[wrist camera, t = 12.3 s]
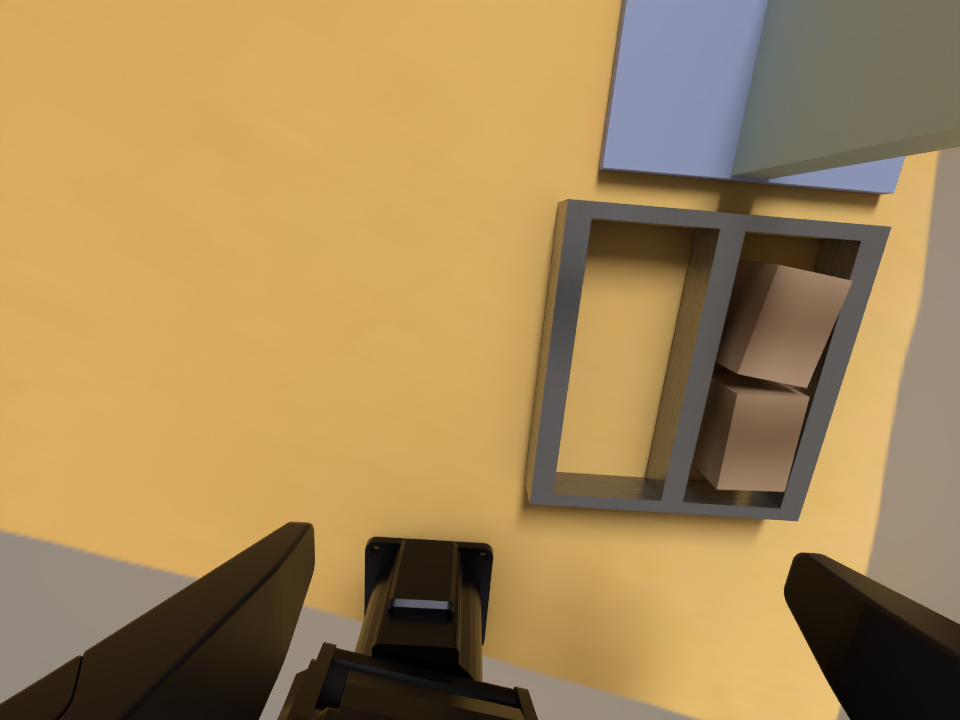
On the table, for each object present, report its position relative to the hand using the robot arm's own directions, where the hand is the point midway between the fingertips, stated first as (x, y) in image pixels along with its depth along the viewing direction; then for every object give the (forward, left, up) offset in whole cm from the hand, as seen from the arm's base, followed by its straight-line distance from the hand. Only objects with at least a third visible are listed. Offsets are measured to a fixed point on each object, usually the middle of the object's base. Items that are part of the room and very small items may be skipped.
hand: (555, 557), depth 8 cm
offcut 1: (+3, -11, -13) cm, 17 cm away
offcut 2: (-2, -11, -13) cm, 17 cm away
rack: (0, -8, -13) cm, 15 cm away
